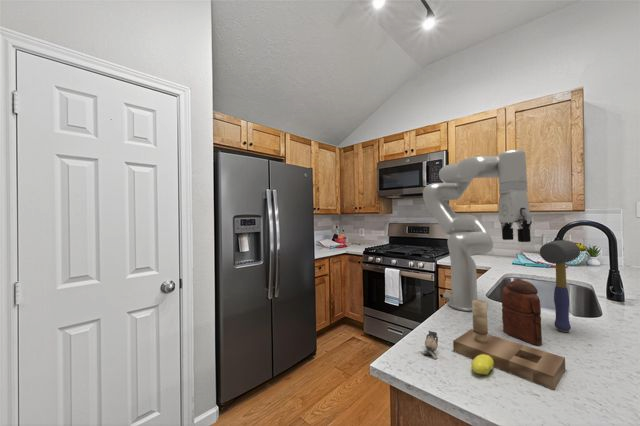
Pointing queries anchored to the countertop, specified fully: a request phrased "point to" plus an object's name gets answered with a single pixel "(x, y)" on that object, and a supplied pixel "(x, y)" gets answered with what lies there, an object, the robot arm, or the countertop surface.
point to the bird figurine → (431, 344)
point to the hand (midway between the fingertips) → (515, 240)
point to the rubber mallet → (560, 277)
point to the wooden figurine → (522, 311)
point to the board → (514, 358)
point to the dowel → (480, 320)
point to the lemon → (482, 364)
